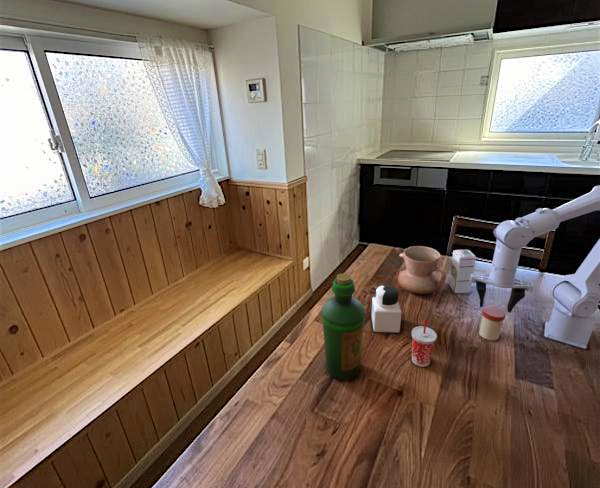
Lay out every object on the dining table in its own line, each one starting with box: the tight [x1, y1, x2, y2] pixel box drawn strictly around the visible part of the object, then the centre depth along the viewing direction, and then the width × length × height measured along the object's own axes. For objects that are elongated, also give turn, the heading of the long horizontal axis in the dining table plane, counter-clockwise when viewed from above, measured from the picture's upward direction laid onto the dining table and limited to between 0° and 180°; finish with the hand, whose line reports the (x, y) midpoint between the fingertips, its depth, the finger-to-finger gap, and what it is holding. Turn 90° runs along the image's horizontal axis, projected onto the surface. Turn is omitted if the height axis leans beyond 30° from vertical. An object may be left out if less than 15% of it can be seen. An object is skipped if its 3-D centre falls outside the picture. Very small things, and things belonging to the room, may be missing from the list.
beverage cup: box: [411, 316, 438, 368], centre depth 87 cm, size 6×6×14 cm
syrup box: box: [448, 249, 477, 294], centre depth 118 cm, size 6×6×14 cm
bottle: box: [321, 273, 366, 381], centre depth 83 cm, size 11×11×28 cm
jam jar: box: [478, 314, 504, 341], centre depth 97 cm, size 5×5×8 cm
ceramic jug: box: [397, 245, 447, 295], centre depth 119 cm, size 18×14×14 cm
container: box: [371, 284, 403, 334], centre depth 102 cm, size 8×8×13 cm
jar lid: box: [481, 304, 507, 322], centre depth 95 cm, size 6×6×2 cm
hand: (494, 307), depth 94 cm, fingers open, 6 cm apart
